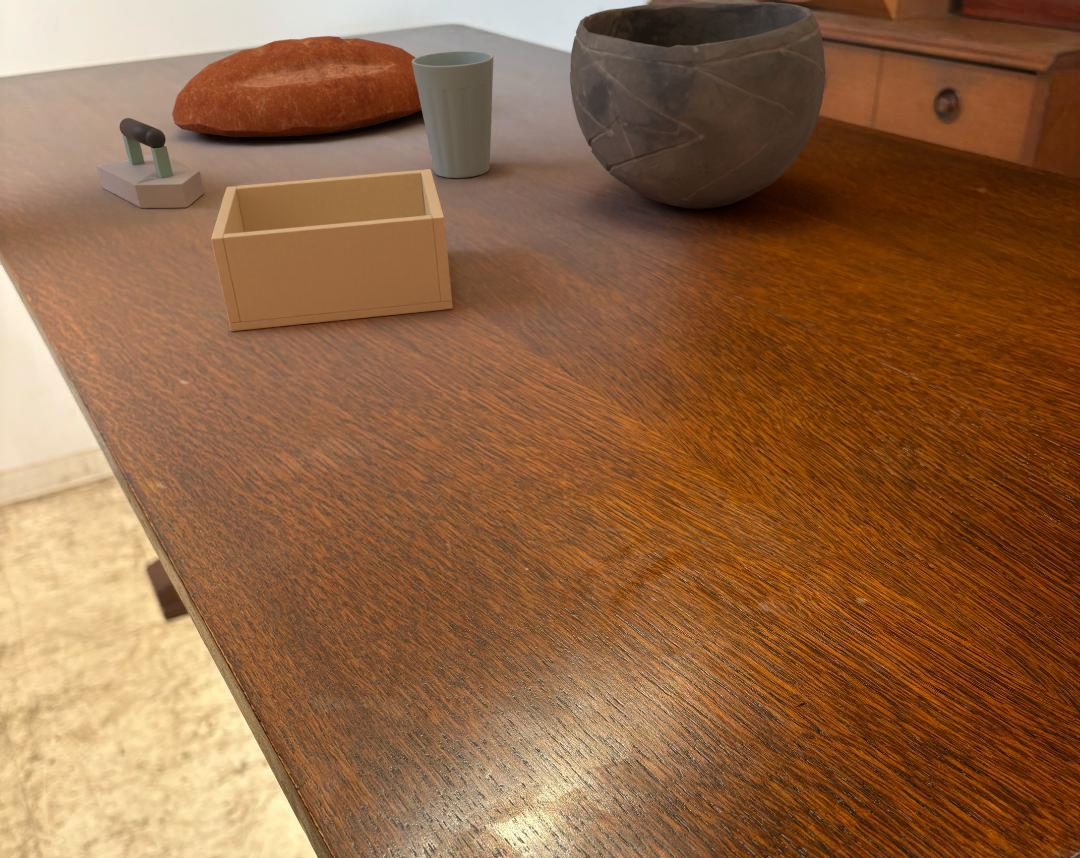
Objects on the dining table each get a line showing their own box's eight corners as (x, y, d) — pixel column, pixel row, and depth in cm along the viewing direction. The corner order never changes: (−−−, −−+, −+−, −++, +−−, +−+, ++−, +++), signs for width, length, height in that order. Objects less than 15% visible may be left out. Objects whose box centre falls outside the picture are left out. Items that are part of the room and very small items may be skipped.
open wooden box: (230, 331, 76) (210, 238, 72) (243, 270, 86) (226, 186, 82) (452, 309, 77) (444, 217, 74) (438, 251, 88) (430, 168, 84)
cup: (426, 162, 111) (415, 52, 105) (501, 158, 111) (494, 48, 105) (419, 183, 105) (407, 67, 99) (499, 179, 105) (491, 63, 99)
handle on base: (101, 187, 108) (83, 119, 105) (163, 174, 112) (147, 108, 108) (153, 215, 100) (136, 142, 96) (218, 200, 103) (203, 128, 99)
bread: (469, 123, 125) (462, 39, 120) (185, 160, 116) (165, 71, 111) (419, 87, 142) (412, 13, 137) (170, 117, 134) (152, 39, 129)
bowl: (561, 175, 105) (555, 3, 96) (776, 160, 106) (789, -11, 97) (588, 245, 87) (585, 43, 79) (845, 227, 88) (868, 25, 80)
